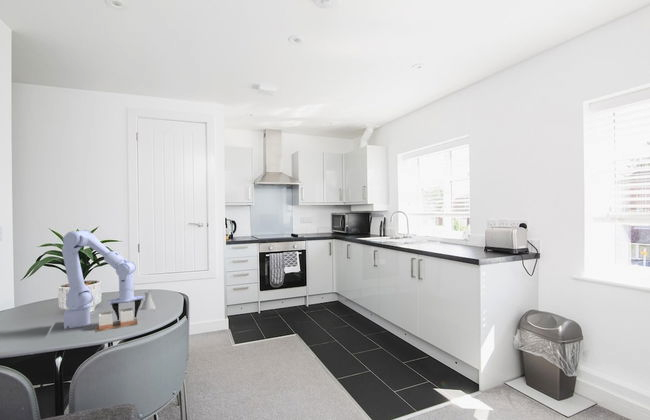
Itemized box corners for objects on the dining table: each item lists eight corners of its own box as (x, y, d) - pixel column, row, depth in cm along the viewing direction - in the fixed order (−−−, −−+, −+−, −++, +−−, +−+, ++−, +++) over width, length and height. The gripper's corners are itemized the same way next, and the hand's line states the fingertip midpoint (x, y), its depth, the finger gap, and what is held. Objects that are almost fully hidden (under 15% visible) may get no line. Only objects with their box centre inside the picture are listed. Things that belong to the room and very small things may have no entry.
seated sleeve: (99, 329, 143) (98, 315, 142) (99, 325, 147) (99, 312, 147) (112, 327, 145) (112, 313, 145) (112, 323, 149) (112, 310, 149)
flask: (149, 313, 168) (149, 293, 168) (137, 312, 170) (136, 293, 170) (159, 308, 175) (158, 290, 175) (147, 308, 177) (147, 289, 177)
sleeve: (120, 325, 147) (120, 312, 147) (120, 322, 151) (120, 309, 151) (133, 323, 149) (133, 310, 149) (133, 320, 154) (133, 307, 154)
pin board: (94, 335, 140) (94, 322, 140) (95, 328, 148) (95, 316, 148) (137, 327, 148) (137, 315, 148) (136, 321, 157) (136, 309, 157)
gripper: (107, 293, 143) (107, 324, 143) (145, 288, 150) (145, 317, 151) (107, 289, 149) (108, 319, 149) (144, 285, 156) (144, 313, 157)
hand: (127, 318), depth 150 cm, fingers open, 6 cm apart
